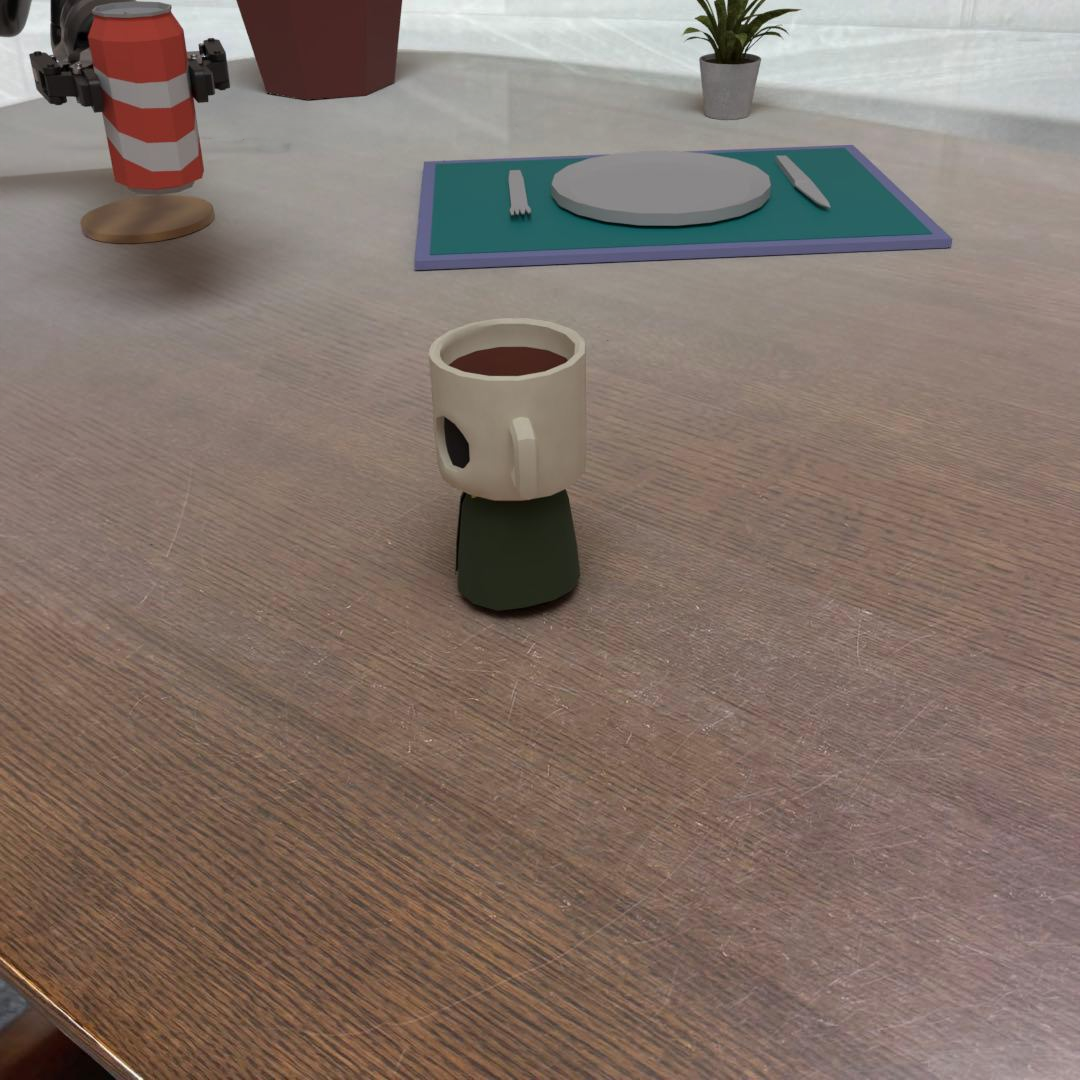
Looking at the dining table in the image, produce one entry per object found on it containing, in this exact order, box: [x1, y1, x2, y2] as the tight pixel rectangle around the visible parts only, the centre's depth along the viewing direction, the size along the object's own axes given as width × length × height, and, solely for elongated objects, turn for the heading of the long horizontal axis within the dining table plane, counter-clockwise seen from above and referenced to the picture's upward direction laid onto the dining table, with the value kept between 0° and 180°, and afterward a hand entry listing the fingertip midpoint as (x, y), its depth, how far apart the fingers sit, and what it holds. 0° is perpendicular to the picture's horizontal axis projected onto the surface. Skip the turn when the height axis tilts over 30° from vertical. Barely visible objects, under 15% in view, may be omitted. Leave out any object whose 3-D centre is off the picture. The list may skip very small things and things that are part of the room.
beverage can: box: [88, 0, 205, 196], centre depth 84 cm, size 6×6×12 cm
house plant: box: [681, 0, 803, 121], centre depth 136 cm, size 14×14×16 cm
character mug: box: [428, 317, 587, 612], centre depth 57 cm, size 11×7×13 cm, turn 9°
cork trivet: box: [79, 194, 216, 244], centre depth 112 cm, size 12×12×1 cm
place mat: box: [413, 144, 953, 271], centre depth 112 cm, size 45×30×2 cm
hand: (149, 92), depth 82 cm, fingers closed on beverage can, 6 cm apart
